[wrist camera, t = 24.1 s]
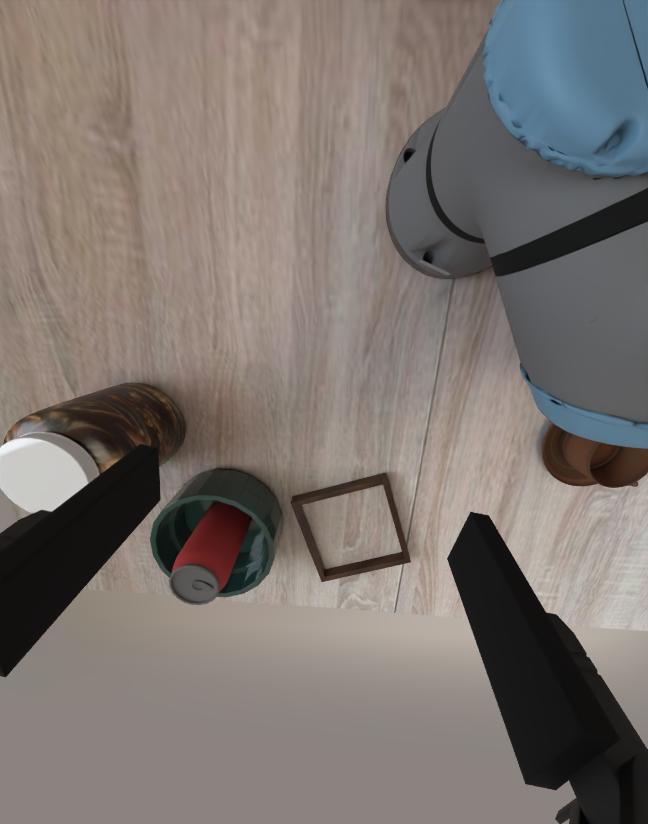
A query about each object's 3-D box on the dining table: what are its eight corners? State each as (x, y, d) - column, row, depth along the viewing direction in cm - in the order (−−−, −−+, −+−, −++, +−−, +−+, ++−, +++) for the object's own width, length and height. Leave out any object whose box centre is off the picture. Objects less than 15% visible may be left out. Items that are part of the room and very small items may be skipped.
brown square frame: (385, 472, 43) (387, 477, 41) (408, 554, 47) (410, 562, 45) (291, 496, 44) (290, 502, 43) (321, 574, 48) (321, 582, 47)
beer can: (247, 540, 46) (219, 614, 34) (204, 531, 46) (161, 602, 34) (254, 503, 44) (227, 569, 32) (209, 494, 44) (165, 556, 32)
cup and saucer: (648, 420, 39) (704, 438, 33) (585, 491, 43) (626, 519, 37) (574, 379, 38) (619, 390, 32) (515, 456, 41) (546, 479, 35)
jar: (133, 474, 44) (36, 551, 29) (81, 404, 41) (-56, 451, 26) (201, 442, 42) (133, 506, 28) (152, 366, 39) (47, 394, 25)
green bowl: (260, 455, 42) (247, 481, 36) (296, 545, 47) (290, 583, 40) (159, 483, 44) (128, 513, 37) (203, 567, 48) (182, 607, 42)
